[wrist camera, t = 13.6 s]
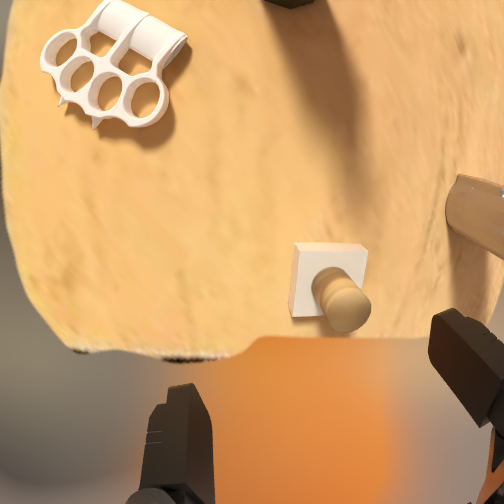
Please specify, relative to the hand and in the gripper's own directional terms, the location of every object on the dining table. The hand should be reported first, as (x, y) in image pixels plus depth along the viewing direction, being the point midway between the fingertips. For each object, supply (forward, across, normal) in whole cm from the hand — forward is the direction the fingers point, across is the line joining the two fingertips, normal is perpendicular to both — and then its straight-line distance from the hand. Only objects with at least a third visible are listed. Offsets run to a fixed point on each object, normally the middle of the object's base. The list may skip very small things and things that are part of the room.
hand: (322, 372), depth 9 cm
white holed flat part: (+31, +11, -19) cm, 38 cm away
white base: (+30, -8, +14) cm, 34 cm away
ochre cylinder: (+27, -8, +13) cm, 31 cm away
